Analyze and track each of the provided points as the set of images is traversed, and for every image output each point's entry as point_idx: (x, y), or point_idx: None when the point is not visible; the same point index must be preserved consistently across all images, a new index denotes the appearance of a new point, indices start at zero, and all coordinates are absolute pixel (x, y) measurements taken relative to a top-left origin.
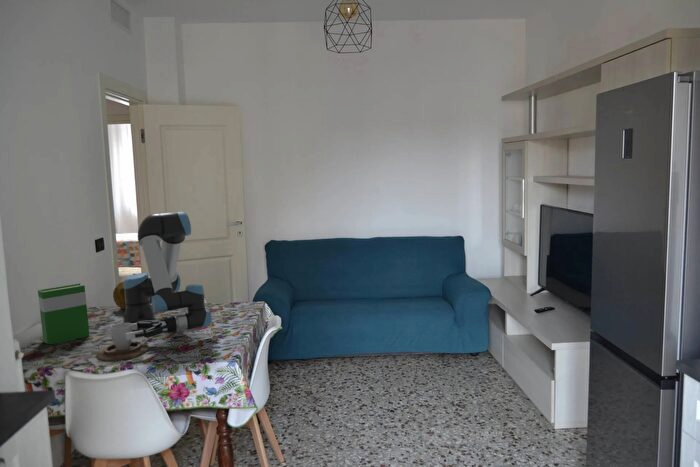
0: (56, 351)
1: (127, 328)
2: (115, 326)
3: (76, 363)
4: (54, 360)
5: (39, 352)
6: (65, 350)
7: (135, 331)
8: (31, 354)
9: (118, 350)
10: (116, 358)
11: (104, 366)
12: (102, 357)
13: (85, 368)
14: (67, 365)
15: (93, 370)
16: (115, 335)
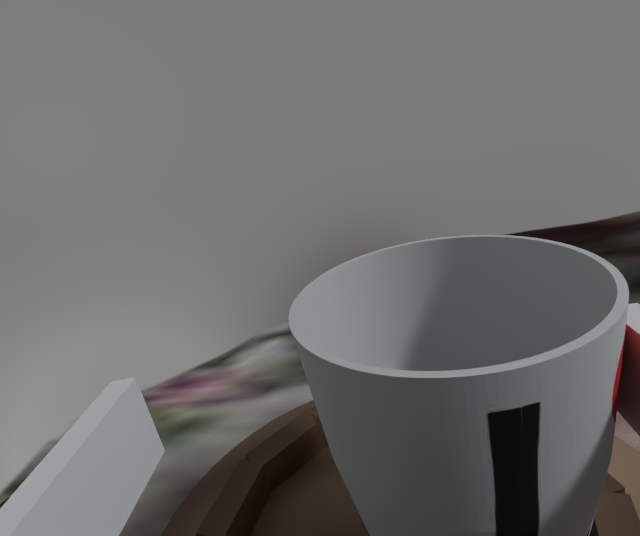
0: (619, 258)
1: (307, 368)
2: (543, 268)
3: None
4: None
5: (617, 231)
6: (631, 276)
7: (53, 480)
8: (591, 224)
9: None
10: (194, 490)
11: (161, 440)
12: (301, 410)
13: (227, 372)
14: None
15: (156, 400)
16: (359, 346)
